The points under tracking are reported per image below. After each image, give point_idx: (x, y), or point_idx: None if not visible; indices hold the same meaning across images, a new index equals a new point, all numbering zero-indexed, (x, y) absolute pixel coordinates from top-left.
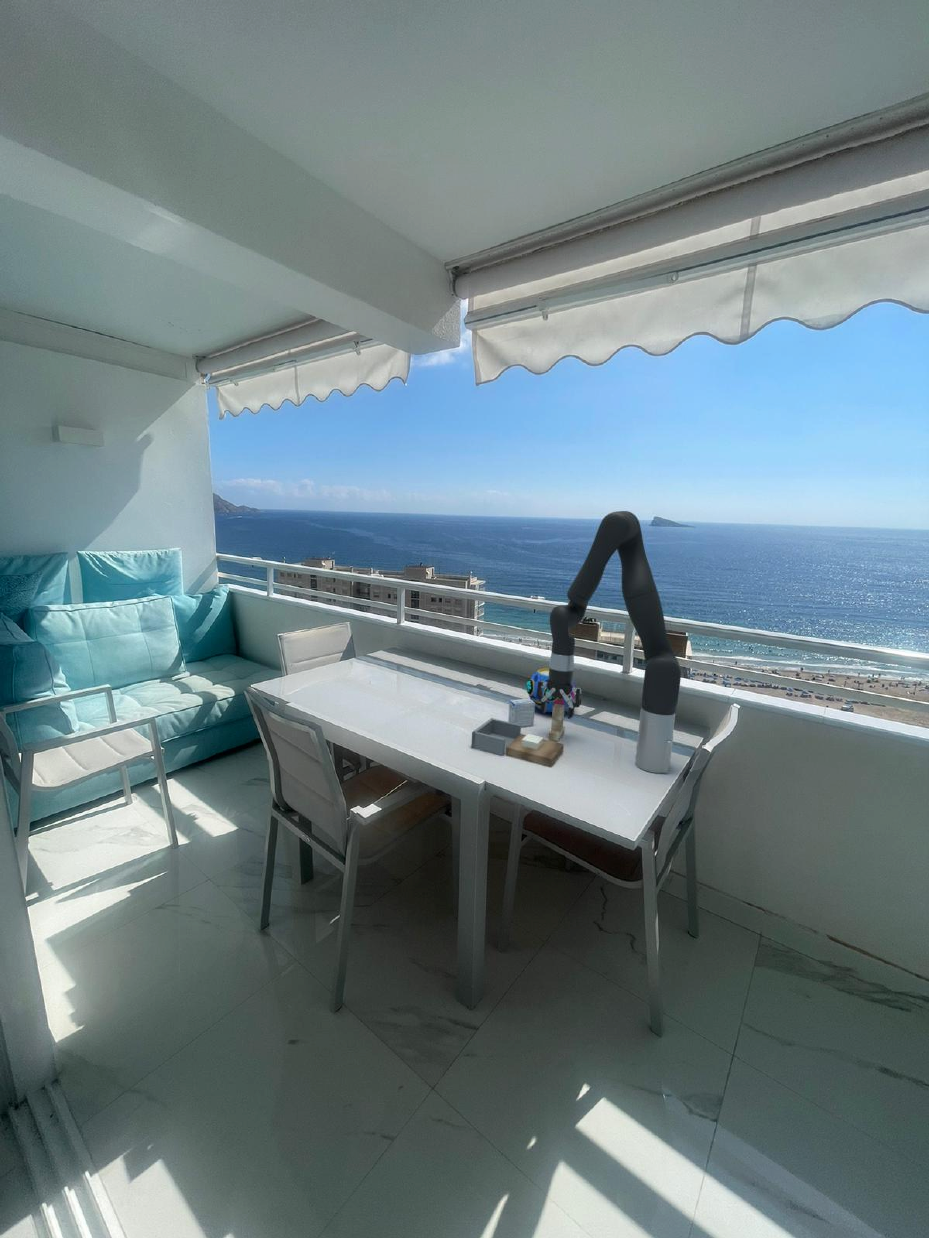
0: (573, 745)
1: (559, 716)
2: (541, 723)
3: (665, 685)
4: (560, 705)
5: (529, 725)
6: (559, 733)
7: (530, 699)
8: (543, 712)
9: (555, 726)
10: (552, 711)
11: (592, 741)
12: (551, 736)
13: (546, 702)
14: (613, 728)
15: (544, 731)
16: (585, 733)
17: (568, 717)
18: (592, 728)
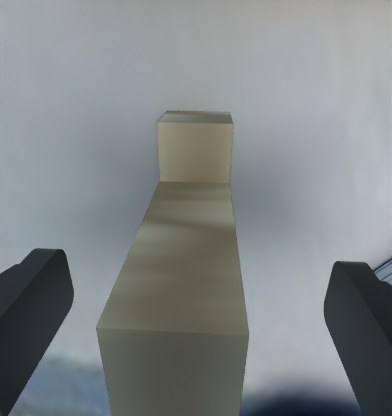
0: (71, 136)
1: (151, 246)
2: (319, 322)
3: None
4: (159, 402)
5: (384, 266)
6: (160, 166)
7: None
8: (348, 262)
9: (195, 196)
10: (241, 276)
11: (17, 242)
12: (207, 118)
13: (376, 410)
14: (19, 396)
15: (283, 239)
16: (87, 310)
17: (48, 252)
18: (86, 366)
